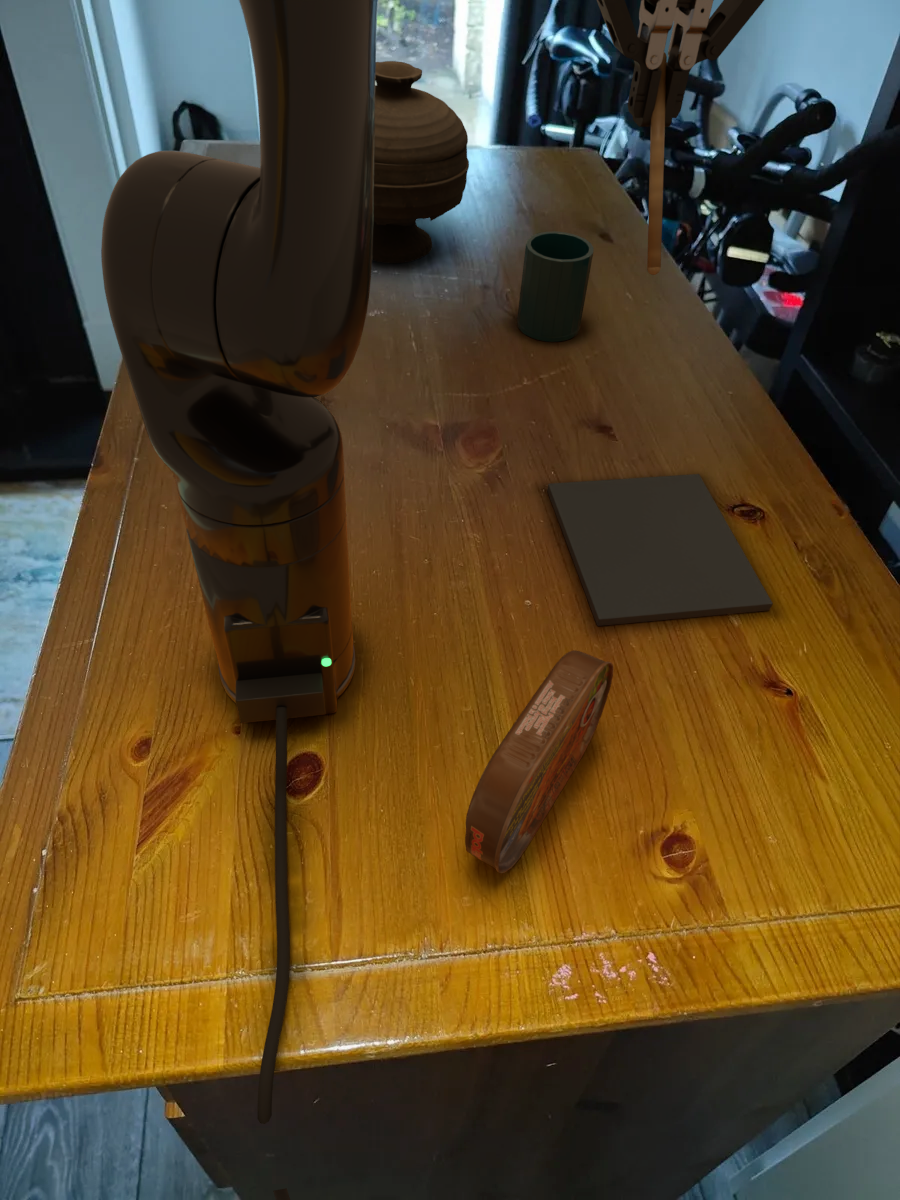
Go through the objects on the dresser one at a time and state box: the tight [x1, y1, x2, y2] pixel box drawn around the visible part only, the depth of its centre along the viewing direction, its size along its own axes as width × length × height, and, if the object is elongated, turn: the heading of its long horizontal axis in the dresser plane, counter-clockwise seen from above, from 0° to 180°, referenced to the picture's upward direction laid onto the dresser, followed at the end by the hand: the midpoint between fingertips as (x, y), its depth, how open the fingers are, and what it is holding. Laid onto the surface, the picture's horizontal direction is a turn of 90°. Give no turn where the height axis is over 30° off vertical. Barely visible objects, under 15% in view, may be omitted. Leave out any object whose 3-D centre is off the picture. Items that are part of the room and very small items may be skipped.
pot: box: [372, 60, 470, 264], centre depth 99 cm, size 18×18×20 cm
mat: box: [546, 473, 773, 627], centre depth 70 cm, size 16×14×1 cm
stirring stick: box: [646, 51, 668, 276], centre depth 62 cm, size 8×1×13 cm, turn 10°
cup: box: [516, 230, 595, 343], centre depth 91 cm, size 7×7×9 cm
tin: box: [464, 649, 614, 874], centre depth 51 cm, size 15×3×8 cm, turn 148°
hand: (651, 122), depth 63 cm, fingers closed on stirring stick, 1 cm apart
